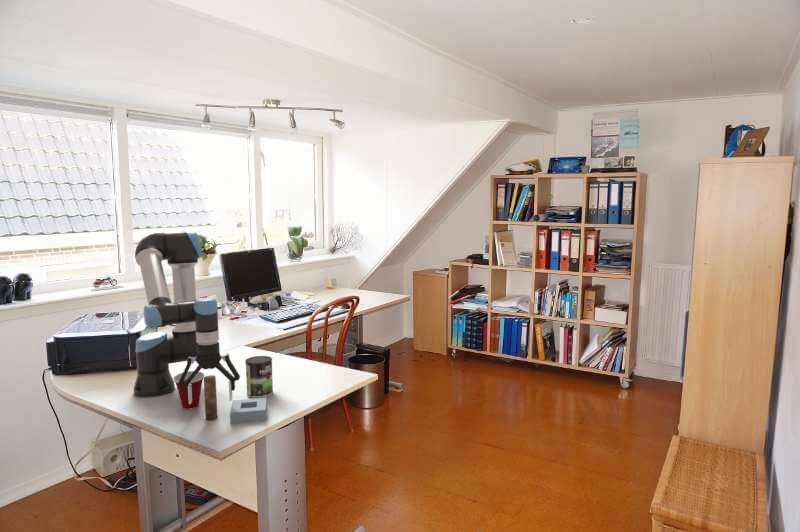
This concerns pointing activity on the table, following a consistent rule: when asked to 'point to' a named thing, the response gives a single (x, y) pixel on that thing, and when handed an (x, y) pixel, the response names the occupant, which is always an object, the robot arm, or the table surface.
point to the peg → (210, 397)
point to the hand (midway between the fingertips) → (210, 401)
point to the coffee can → (259, 376)
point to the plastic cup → (196, 389)
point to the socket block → (248, 410)
